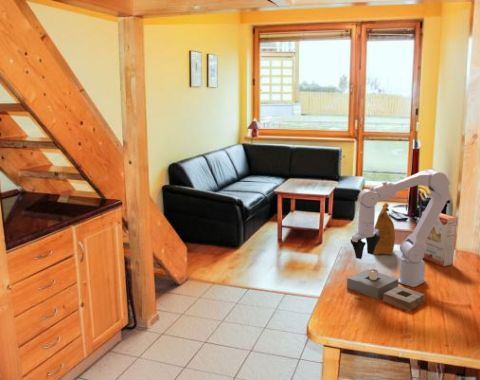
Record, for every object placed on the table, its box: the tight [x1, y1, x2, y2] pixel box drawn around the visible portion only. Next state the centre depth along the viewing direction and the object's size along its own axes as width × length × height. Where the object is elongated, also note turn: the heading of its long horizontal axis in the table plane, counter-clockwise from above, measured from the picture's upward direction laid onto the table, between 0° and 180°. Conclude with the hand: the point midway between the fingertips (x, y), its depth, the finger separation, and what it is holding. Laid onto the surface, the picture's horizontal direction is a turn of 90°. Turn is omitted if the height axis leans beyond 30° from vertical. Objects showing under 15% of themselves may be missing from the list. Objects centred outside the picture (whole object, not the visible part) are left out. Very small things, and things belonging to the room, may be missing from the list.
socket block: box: [382, 285, 426, 312], centre depth 171 cm, size 10×10×3 cm
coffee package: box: [373, 202, 396, 256], centre depth 222 cm, size 10×12×22 cm
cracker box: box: [421, 210, 458, 268], centre depth 210 cm, size 14×6×21 cm, turn 25°
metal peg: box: [368, 268, 379, 282], centre depth 182 cm, size 3×3×7 cm
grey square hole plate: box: [346, 269, 399, 300], centre depth 182 cm, size 13×13×4 cm
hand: (364, 256), depth 187 cm, fingers open, 7 cm apart
